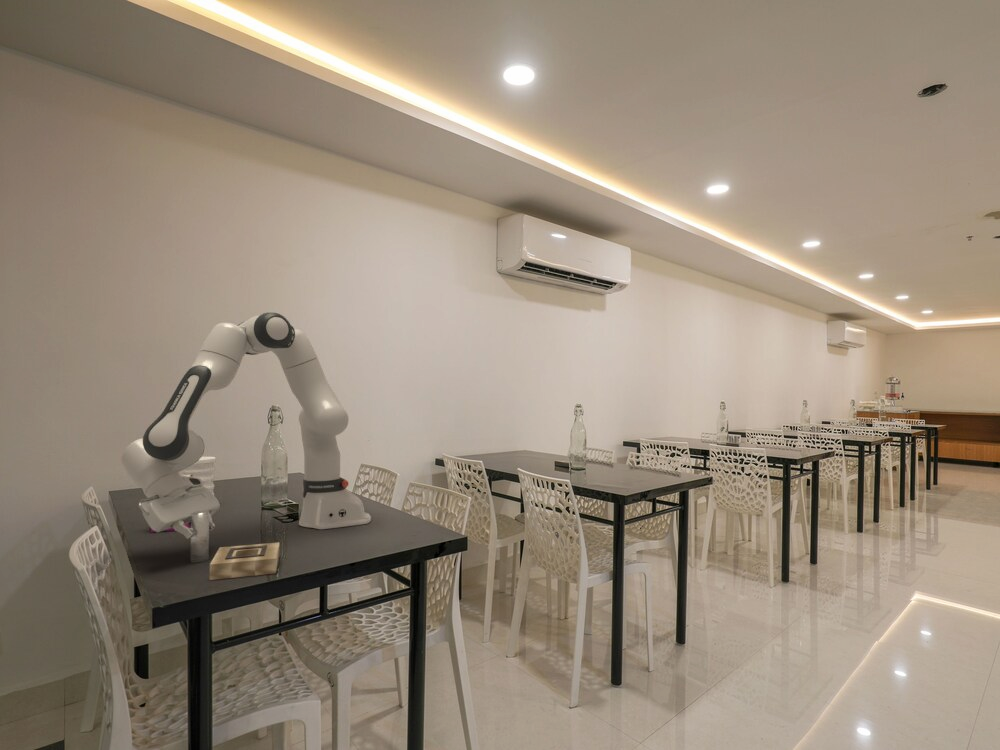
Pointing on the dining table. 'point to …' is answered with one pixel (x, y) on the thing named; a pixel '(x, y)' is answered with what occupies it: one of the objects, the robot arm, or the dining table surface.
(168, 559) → the dining table surface
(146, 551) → the dining table surface
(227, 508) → the dining table surface
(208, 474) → the decorative container
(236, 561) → the socket block
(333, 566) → the dining table surface
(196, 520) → the aluminium pin
